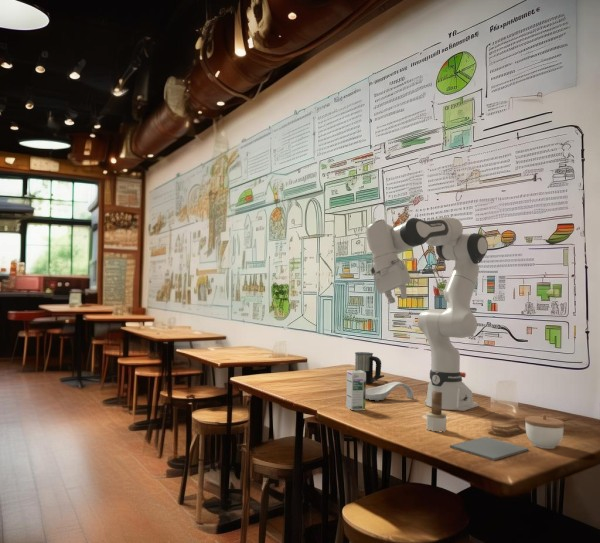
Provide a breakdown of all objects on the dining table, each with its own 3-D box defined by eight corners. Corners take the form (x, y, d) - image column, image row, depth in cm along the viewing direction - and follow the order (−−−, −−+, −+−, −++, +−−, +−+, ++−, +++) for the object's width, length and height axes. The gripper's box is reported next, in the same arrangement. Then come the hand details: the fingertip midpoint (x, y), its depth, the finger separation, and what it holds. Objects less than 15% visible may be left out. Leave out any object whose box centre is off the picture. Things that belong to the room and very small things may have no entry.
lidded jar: (552, 441, 163) (552, 411, 163) (571, 451, 152) (571, 419, 153) (518, 440, 163) (518, 410, 163) (535, 450, 152) (535, 418, 152)
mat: (485, 438, 163) (485, 436, 163) (528, 450, 152) (528, 448, 152) (450, 447, 152) (450, 445, 152) (493, 460, 141) (493, 458, 141)
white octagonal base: (434, 426, 176) (434, 413, 176) (449, 430, 171) (449, 416, 172) (422, 428, 172) (423, 415, 173) (437, 433, 168) (438, 419, 168)
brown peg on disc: (434, 413, 176) (435, 389, 177) (450, 416, 171) (450, 393, 172) (422, 415, 173) (423, 391, 173) (438, 419, 168) (438, 394, 168)
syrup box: (351, 411, 195) (352, 372, 196) (345, 407, 201) (346, 369, 202) (365, 410, 197) (366, 372, 198) (359, 407, 203) (360, 369, 203)
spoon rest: (368, 403, 212) (369, 385, 212) (355, 397, 223) (356, 380, 223) (418, 401, 220) (419, 384, 220) (403, 395, 231) (404, 379, 231)
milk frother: (352, 383, 259) (353, 353, 259) (358, 378, 274) (359, 350, 275) (380, 385, 255) (381, 355, 255) (385, 380, 270) (386, 352, 270)
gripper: (408, 255, 179) (420, 293, 177) (383, 268, 198) (393, 303, 196) (392, 258, 177) (404, 298, 175) (368, 271, 196) (379, 307, 194)
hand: (398, 300), depth 186 cm, fingers open, 8 cm apart
